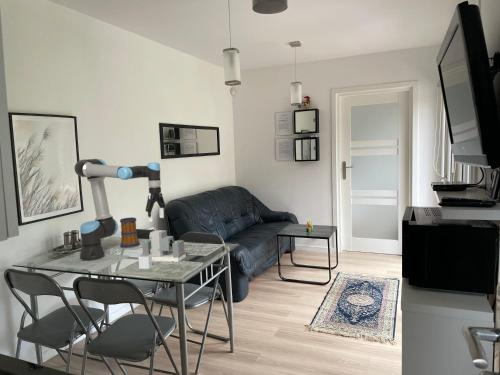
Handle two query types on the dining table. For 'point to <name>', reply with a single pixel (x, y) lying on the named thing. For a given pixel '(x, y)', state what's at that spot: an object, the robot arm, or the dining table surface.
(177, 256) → the rail plate
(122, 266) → the dining table surface
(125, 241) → the mug
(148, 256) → the block
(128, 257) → the dining table surface
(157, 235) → the circuit breaker
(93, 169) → the robot arm
